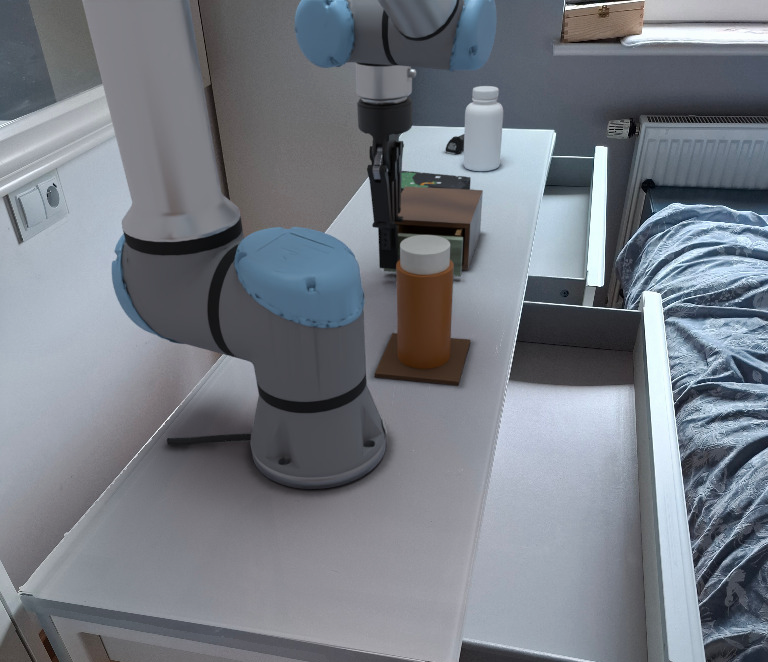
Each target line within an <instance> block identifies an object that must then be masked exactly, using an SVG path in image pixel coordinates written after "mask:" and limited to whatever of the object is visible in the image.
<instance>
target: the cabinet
mask: <svg viewBox="0 0 768 662" xmlns="http://www.w3.org/2000/svg"><path fill="white" fill-rule="evenodd" d="M483 193H484V190H483V189H470V190H467V189H446V188H425V187H405V188H404V190H403V191H402V193H401V212H400V213H398V216H401V217H403V221H402V222H395V224H399V225H417V226H434V227H452V228H465V240H464V254H463V256H462V271H468V270H469V268H470V265H471V262H472V260H473V256H474V254H475V250H476V247H477V244H478V242H479V239H480V236H481V225H482V211H483Z"/></svg>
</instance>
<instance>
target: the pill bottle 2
mask: <svg viewBox="0 0 768 662" xmlns="http://www.w3.org/2000/svg"><path fill="white" fill-rule="evenodd" d="M499 94H500V89H499V88H498V87H497V86H494V85H493V86H491V85H479V86H475V87H473V88H472V98H471V101H472V102H470V103H469V104H468V105H467V106H466V108H465V111H464V133H463V134H464V148H463V161H462V162H463V167H464V168H465V169H467V170H470V171H474V172H488V171H493V170H496V169H498V168H499V167H500V164H501V153H502V138H503V122H504V108H503V105H502V104H501V103H500V102H498V100H499Z"/></svg>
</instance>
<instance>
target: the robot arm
mask: <svg viewBox="0 0 768 662" xmlns="http://www.w3.org/2000/svg"><path fill="white" fill-rule="evenodd" d="M81 2H82V7H83V10H84V14H85V17H86V23H87V27H88V30H89V35H90V38H91V42H92V46H93V50H94V55H95V58H96V62H97V66H98V71H99V74H100V79H101V82H102V87H103V91H104V95H105V99H106V103H107V106H108V111H109V115H110V119H111V122H112V127H113V130H114V135H115V139H116V143H117V147H118V151H119V155H120V159H121V163H122V168H123V171H124V175H125V179H126V183H127V187H128V192H129V195H130V200H131V206H130V207H129V208H128V210H127V212H126V213H125V215H124V216H123V217H122V219H121V229H122V232H123V233H122V235H120V237H119V239H118V241H117V242H116V244H115V249H114V254H115V255H116V258H115V260H112V261H111V282H112V286H113V289H114V290H113V291H114V294H115V296H116V299H117V301H118V303H119V305H120V307H121V309H122V310H123V312H124V313H125V315H126V316H127V317H128V319H129V320H131V321H132V323H133V324H135V325H136V326H137V327H139V328H140V329H141V330H143V331H145V332H147V333H150V334H152V335H154V336H157V337H159V338H160V339H162V340H166V341H169V342H170V343H173V344H179V345H187V346H192V347H195V348H199V349H203V350H206V351H210V352H213V353H217V354H221V355H225V356H229V357H231V358H236V359H239V360H242V361H246V362H250V363H251V364H252V366H253V370H254V375H255V381H256V385H257V386H256V387H257V394H258V396H257V397H258V398H257V402H256V407H255V408H256V409H255V412H254V418H253V422H252V426H251V427H252V428H251V432H250V433H249V432H248V433H231V434H229V433H228V434H214V435H203V436H190V437H167V438H166V444H167V445H170V446H185V445H201V444H211V443H212V444H213V443H226V442H227V443H228V442H245V441H250V449H251V454H252V459H253V463H254V464H255V466H256V467H257V469H258V471H259V472H260V473H261V474H263V475H264V477H266V478H267V479H269V480H271V481H273V482H275V483H278V484H280V485H282V486H286V487H291V488H295V489H303V490H322V489H329V488H330V489H331V488H335V487H339V486H343V485H347V484H350V483H352V482H354V481H356V480H358V479H361V478H363V477H364V476H366V475H368V474H369V473H370V472H371V471H373V469H375V468H376V467H377V466H378V465H379V463H380V462H381V461H382V460H383V457H384V455H385V453H386V448H387V442H386V441H387V438H386V436H387V437H388V431H387V425H386V422H385V419H384V417H383V414H382V413H380V412H379V410H378V407H377V405H376V403H375V400H374V398H373V396H372V393H371V391H370V388H369V386H368V382H367V381H368V380H367V361H366V359H367V358H366V335H365V334H366V333H365V311H364V310H365V302H366V301H365V300H366V299H365V297H366V296H365V291H364V289H363V285H362V284H363V283H362V277H361V269H360V265H359V262H358V259H357V258H356V255H355V254H354V252H353V251H352V250H351V248H350V247H349V246H348V245H347V244H345V243H344V242H343V241H341V240H340V239H338V238H337V237H335V236H333V235H331V234H328V233H326V232H324V231H319V230H315V229H314V228H313V229H312V228H308V227H301V226H291V228H284V227H282V226H274V227H268V228H263V229H260V230H257V231H254V232H251V233H250V234H248V235H247V236H245V235H244V229H243V222H242V217H241V211H240V208H239V207H238V205H237V204H235V203H234V202H232V201H231V200H230V199H229V198H228V197H226V196H225V195H224V194H223V193H222V189H221V183H220V175H219V171H218V164H217V158H216V152H215V147H214V146H215V145H214V140H213V135H212V128H211V121H210V116H209V111H208V105H207V100H206V92H205V87H204V81H203V75H202V69H201V63H200V57H199V51H198V50H199V49H198V45H197V44H198V43H197V39H196V32H195V27H194V21H193V15H192V10H191V4H190V2H191V1H190V0H81ZM497 14H498V13H497V6H496V1H495V0H300V2H299V3H298V5H297V8H296V10H295V16H294V32H295V39H296V42H297V45H298V47H299V49H300V51H301V53H302V55H303V56H304V57H305V58H306V59H307V61H309V62H310V63H311V64H313V65H314V66H316V67H318V68H321V69H329V68H340V67H342V66H343V65H346V64H347V63H354V67H355V68H354V69H355V93H356V95H357V97H359V99H358V101H357V103H356V107H357V108H356V109H357V126H358V129H359V130H360V132H362V133H364V134H368V135H370V136H371V137H372V141H371V142H372V143H371V145H370V146H369V154H368V155H369V160H370V162H371V164H367V167H366V172H367V177H368V181H369V187H370V198H371V207H372V215H373V223H372V228H375V229H377V233H378V262H379V265H378V266H379V269H384V268H386V269H396V264H397V262H398V224H395V222H402V221H403V217H401V216H398V213H400V212H401V179H402V171H403V154H404V148H405V143H404V141H403V140H400V134H404V133H407V132H408V131H410V130H411V129H412V127H413V100H412V98H411V96H410V95H411V94H412V93H413V79H414V78H416V77H417V74H418V73H417V70H416V69H415V68H421V69H422V68H423V69H433V70H443V71H449V72H451V73H452V72H455V71H477V70H480V69H481V68H483V67H484V66H485V64H486V63H487V62H488V60H489V59H490V57H491V53H492V50H493V47H494V44H495V38H496V33H497V24H498V23H497V22H498V17H497Z"/></svg>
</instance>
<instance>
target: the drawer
mask: <svg viewBox="0 0 768 662" xmlns="http://www.w3.org/2000/svg"><path fill="white" fill-rule="evenodd" d="M417 235H434V236H439V237H443V238H445V239H447V240H448V241H449V242H450V260H452V262H453V264H454V268H453V277H461V276H462V271H463V270H462V256H463V254H464V240H465V228H452V227H434V226H417V225H399V224H398V261H399V260H400V244H401V242H402V241H403V240H404V239H406V238H409V237H412V236H417ZM383 271H384V272H393V273H396V269H386V268H383Z"/></svg>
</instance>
